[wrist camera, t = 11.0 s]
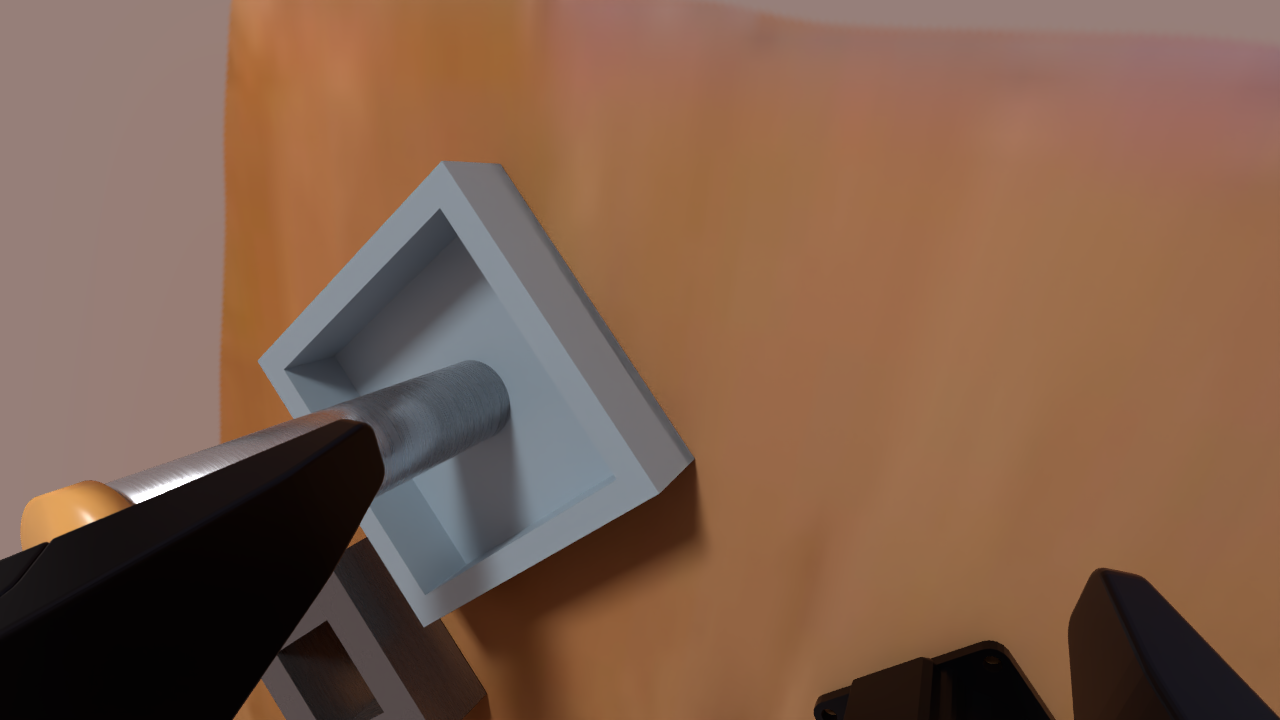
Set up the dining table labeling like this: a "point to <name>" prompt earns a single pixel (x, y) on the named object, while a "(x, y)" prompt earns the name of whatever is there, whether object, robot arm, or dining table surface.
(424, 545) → the tray
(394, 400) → the pin
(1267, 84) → the dining table surface
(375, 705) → the pin collar
